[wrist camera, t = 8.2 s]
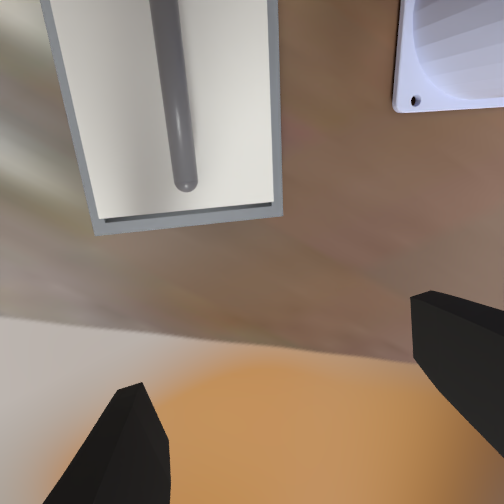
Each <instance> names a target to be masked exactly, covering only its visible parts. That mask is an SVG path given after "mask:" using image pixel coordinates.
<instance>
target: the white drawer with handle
mask: <svg viewBox="0 0 504 504" xmlns="http://www.w3.org/2000/svg"><path fill="white" fill-rule="evenodd" d="M50 4H51V8H52V12H53V17H54V21H55V26H56V30H57V35H58V39H59V44H60V48H61V52H62V57H63V61H64V66H65V70H66V75H67V79H68V84H69V88H70V92H71V97H72V101H73V106H74V110H75V115H76V119H77V124H78V128H79V132H80V137H81V141H82V146H83V150H84V155H85V159H86V164H87V168H88V172H89V177H90V181H91V186H92V190H93V195H94V199H95V204H96V208H97V212H98V217H99V219H105V218H115V217H125V216H135V215H145V214H155V213H165V212H175V211H185V210H195V209H205V208H215V207H225V206H235V205H245V204H255V203H265V202H274V194H273V164H272V134H271V105H270V75H269V45H268V15H267V0H50Z"/></svg>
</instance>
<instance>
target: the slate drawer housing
mask: <svg viewBox="0 0 504 504" xmlns="http://www.w3.org/2000/svg"><path fill="white" fill-rule="evenodd" d="M40 3H41V7H42V12H43V16H44V20H45V24H46V29H47V33H48V37H49V42H50V46H51V50H52V54H53V59H54V63H55V67H56V72H57V76H58V80H59V84H60V89H61V93H62V97H63V101H64V106H65V110H66V114H67V119H68V123H69V127H70V131H71V136H72V140H73V144H74V149H75V153H76V157H77V161H78V166H79V170H80V174H81V178H82V183H83V187H84V191H85V196H86V200H87V204H88V208H89V213H90V217H91V221H92V226H93V230H94V234H95V236H101V235H110V234H119V233H129V232H138V231H147V230H157V229H166V228H175V227H185V226H194V225H204V224H213V223H222V222H232V221H241V220H250V219H260V218H269V217H278V216H283V195H282V153H281V111H280V70H279V28H278V0H267V15H268V45H269V75H270V105H271V134H272V164H273V194H274V202H265V203H255V204H245V205H235V206H225V207H215V208H205V209H195V210H185V211H175V212H165V213H155V214H145V215H135V216H125V217H115V218H105V219H99V217H98V212H97V208H96V204H95V199H94V195H93V190H92V186H91V181H90V177H89V172H88V168H87V164H86V159H85V155H84V150H83V146H82V141H81V137H80V132H79V128H78V124H77V119H76V115H75V110H74V106H73V101H72V97H71V92H70V88H69V84H68V79H67V75H66V70H65V66H64V61H63V57H62V52H61V48H60V44H59V39H58V35H57V30H56V26H55V21H54V17H53V12H52V8H51V4H50V0H40Z"/></svg>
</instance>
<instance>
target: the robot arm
mask: <svg viewBox="0 0 504 504" xmlns="http://www.w3.org/2000/svg"><path fill="white" fill-rule="evenodd" d="M413 96H414V97H415V98H416V102H415V104H414V106H412V105H411V99H412V97H413ZM392 104H393V108H394V110H395V111H396V112H398V113H410V112H427V111H443V110H460V109H477V108H493V107H504V0H401V6H400V18H399V30H398V42H397V54H396V65H395V77H394V89H393V101H392ZM410 300H411V319H412V338H413V358H414V359H415V360H416V362H417V363H418V364H419V366H420V367H421V368H422V370H423V371H424V372H425V374H426V375H427V376H428V378H429V379H430V380H431V382H432V383H433V384H434V385H435V387H436V388H437V389H438V390H439V392H441V393H442V395H443V396H444V397H445V398H446V399H447V400H448V401H449V402H450V403H451V404H452V405H453V406H454V407H455V408H456V409H457V410H458V411H459V412H460V414H461V415H462V416H463V417H464V418H465V419H466V420H467V421H469V423H470V424H471V425H472V426H473V427H474V428H475V429H476V430H477V431H478V432H479V433H480V434H481V435H482V436H483V437H484V438H485V439H486V440H487V441H488V442H489V443H490V444H491V445H492V446H493V447H494V448H495V449H496V450H497V451H498V452H499V454H501V456H502V457H503V458H504V311H502V310H499V309H496V308H492V307H489V306H486V305H482V304H479V303H476V302H472V301H469V300H466V299H462V298H459V297H455V296H452V295H448V294H444V293H440V292H436V291H428V292H425V293H422V294H418V295H415V296H412V297H410ZM170 489H171V476H170V455H169V440H168V437H167V435H166V433H165V431H164V429H163V426H162V424H161V422H160V420H159V418H158V416H157V413H156V411H155V409H154V407H153V405H152V402H151V400H150V398H149V396H148V394H147V392H146V389H145V387H144V385H143V383H142V382H141V383H138V384H135V385H132V386H128V387H125V388H122V389H119V390H117V392H116V393H115V395H114V396H113V398H112V399H111V401H110V402H109V404H108V405H107V407H106V409H105V410H104V412H103V413H102V415H101V416H100V418H99V420H98V421H97V423H96V424H95V426H94V427H93V429H92V431H91V432H90V434H89V435H88V437H87V438H86V440H85V442H84V443H83V445H82V446H81V448H80V449H79V451H78V452H77V454H76V455H75V457H74V458H73V460H72V461H71V463H70V465H69V466H68V468H67V469H66V471H65V472H64V474H63V475H62V477H61V478H60V480H59V481H58V482H57V484H56V485H55V487H54V488H53V490H52V491H51V493H50V494H49V495H48V497H47V498H46V500H45V501H44V502H43V504H170Z"/></svg>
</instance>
